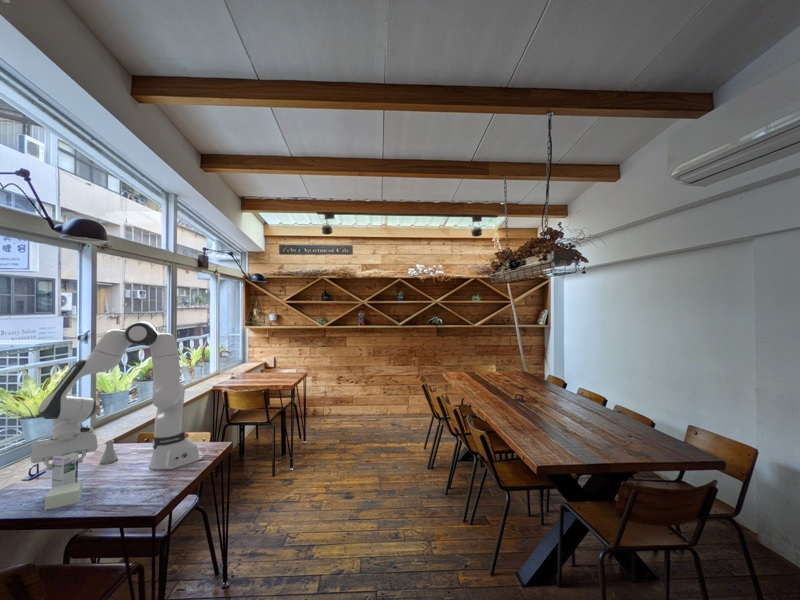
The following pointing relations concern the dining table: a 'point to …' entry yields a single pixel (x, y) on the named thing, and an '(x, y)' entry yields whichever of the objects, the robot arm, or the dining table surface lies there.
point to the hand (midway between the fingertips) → (65, 465)
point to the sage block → (63, 495)
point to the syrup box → (65, 469)
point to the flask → (109, 453)
